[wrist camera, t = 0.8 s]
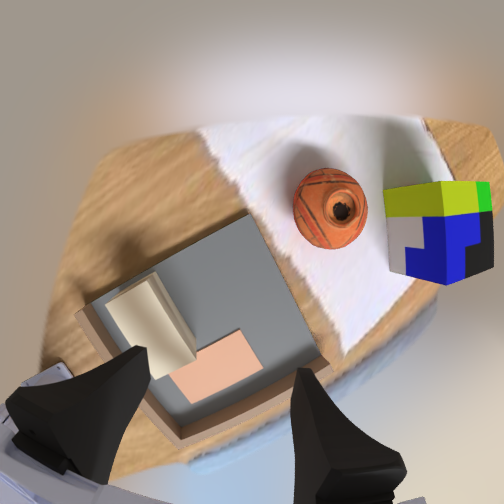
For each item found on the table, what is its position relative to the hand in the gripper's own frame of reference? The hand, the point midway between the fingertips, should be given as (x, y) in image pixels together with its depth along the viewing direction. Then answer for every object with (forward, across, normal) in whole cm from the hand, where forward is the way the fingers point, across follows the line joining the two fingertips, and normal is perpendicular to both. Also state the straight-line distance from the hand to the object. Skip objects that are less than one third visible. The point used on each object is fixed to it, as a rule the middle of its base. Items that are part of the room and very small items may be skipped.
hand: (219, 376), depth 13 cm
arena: (+15, +4, +8) cm, 17 cm away
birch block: (+14, +8, +5) cm, 17 cm away
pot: (+21, -7, -6) cm, 23 cm away
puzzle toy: (+24, -21, -5) cm, 32 cm away
